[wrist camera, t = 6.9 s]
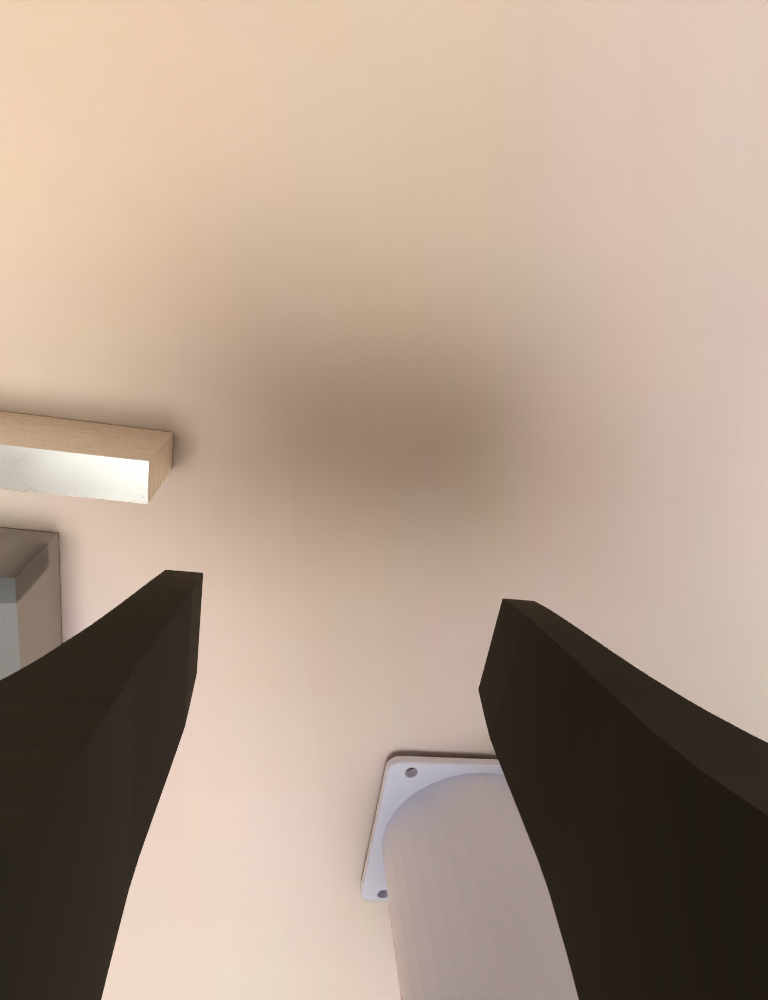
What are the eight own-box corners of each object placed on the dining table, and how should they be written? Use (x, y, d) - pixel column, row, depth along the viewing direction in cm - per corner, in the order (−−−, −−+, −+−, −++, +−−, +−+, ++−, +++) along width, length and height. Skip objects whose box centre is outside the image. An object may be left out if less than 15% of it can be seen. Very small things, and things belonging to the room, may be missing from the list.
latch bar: (173, 432, 18) (148, 461, 15) (171, 468, 18) (147, 503, 16) (-41, 406, 17) (-110, 431, 14) (-38, 445, 17) (-104, 478, 15)
